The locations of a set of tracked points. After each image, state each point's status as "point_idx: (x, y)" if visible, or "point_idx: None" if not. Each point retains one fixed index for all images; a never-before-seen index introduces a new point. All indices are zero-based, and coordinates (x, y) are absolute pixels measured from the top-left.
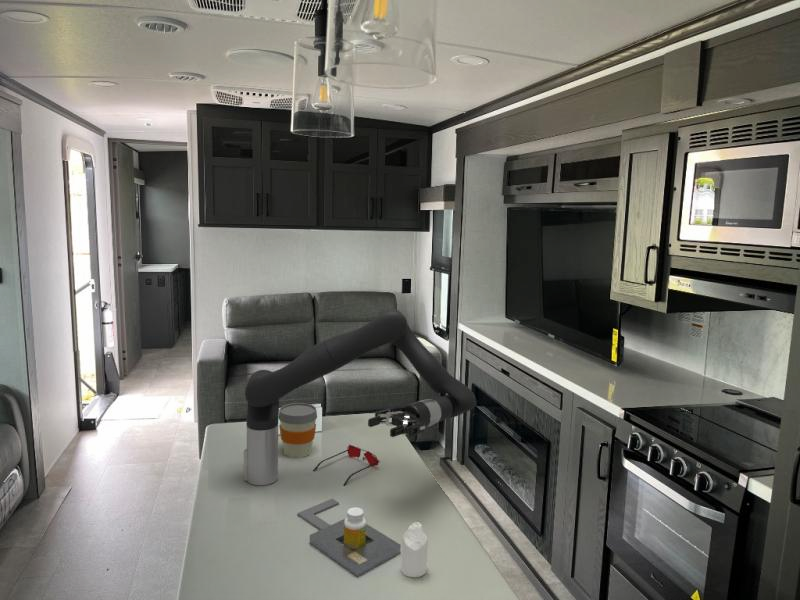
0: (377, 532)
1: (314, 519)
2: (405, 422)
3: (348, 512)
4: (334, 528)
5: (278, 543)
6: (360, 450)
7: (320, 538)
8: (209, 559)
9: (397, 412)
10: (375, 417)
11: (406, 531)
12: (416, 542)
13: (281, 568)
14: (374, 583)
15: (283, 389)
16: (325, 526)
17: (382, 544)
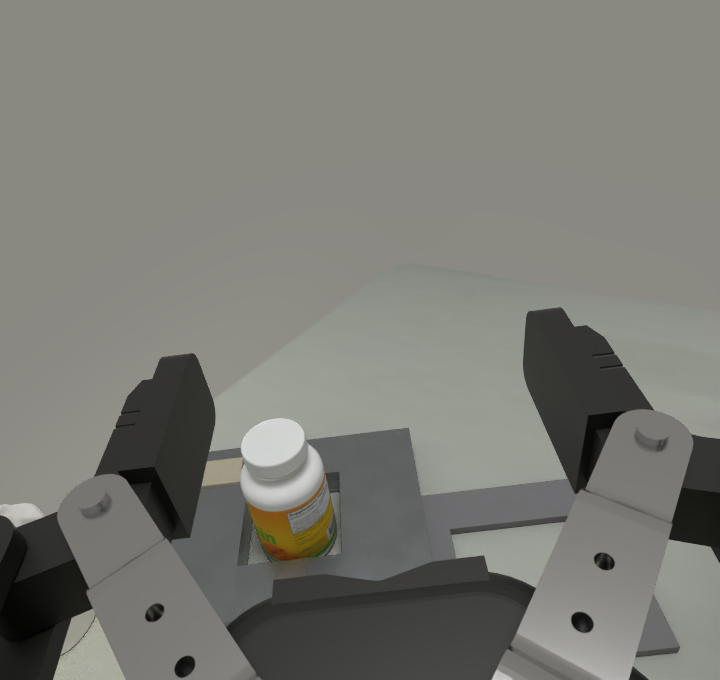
0: None
1: (522, 501)
2: (128, 564)
3: (285, 421)
4: (394, 496)
5: (457, 392)
6: None
7: (372, 442)
8: (476, 293)
9: (548, 677)
10: (573, 361)
11: (18, 511)
12: None
13: (356, 368)
14: None
15: None
16: (458, 510)
17: (195, 575)
